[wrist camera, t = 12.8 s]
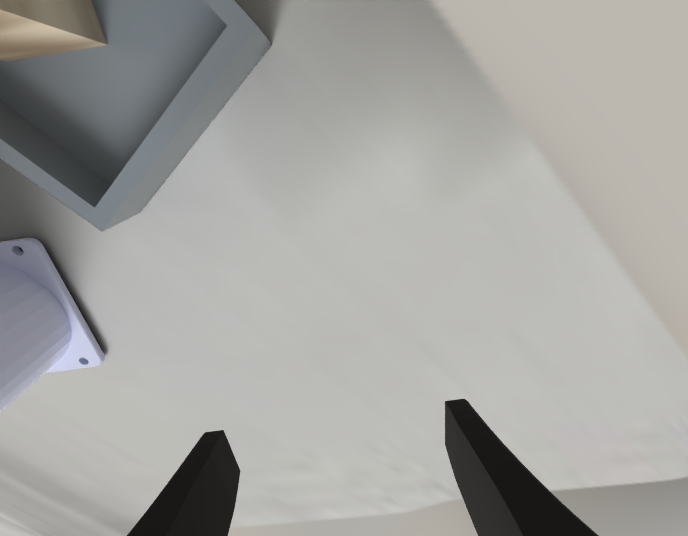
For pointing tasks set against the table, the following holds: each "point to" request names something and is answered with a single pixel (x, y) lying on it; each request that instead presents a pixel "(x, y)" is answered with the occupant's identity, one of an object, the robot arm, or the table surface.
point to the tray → (124, 101)
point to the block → (47, 28)
